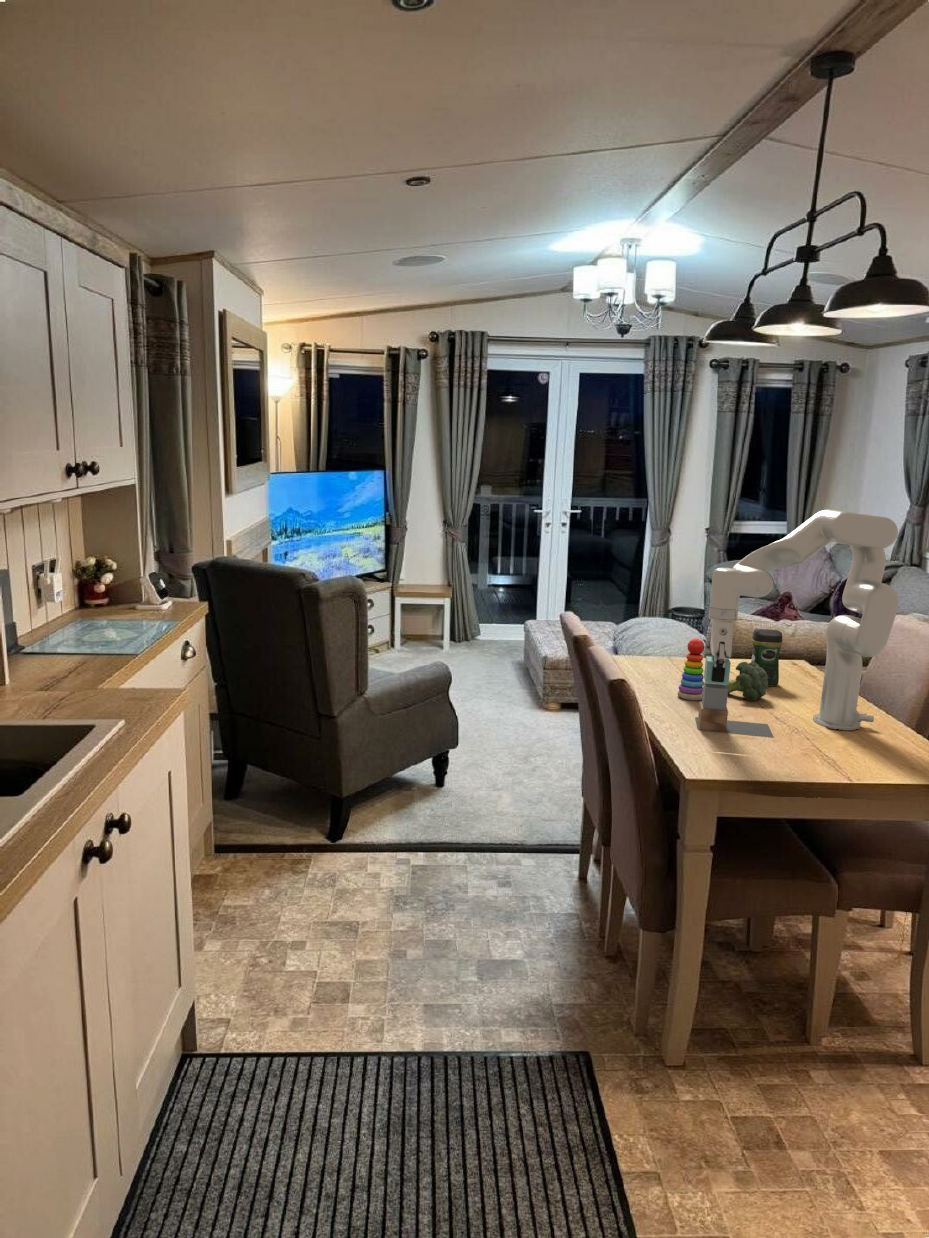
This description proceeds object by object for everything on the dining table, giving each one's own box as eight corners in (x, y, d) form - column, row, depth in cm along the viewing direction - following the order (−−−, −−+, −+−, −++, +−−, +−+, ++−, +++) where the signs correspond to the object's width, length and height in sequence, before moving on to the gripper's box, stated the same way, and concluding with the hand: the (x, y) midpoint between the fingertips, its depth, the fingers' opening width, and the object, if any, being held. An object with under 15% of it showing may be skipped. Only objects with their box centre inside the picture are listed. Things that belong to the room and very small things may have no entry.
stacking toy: (704, 702, 263) (710, 642, 260) (677, 699, 265) (683, 640, 261) (702, 695, 271) (708, 637, 267) (676, 693, 272) (682, 635, 269)
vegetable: (729, 680, 281) (773, 668, 273) (732, 715, 274) (778, 703, 266) (712, 663, 274) (757, 650, 266) (715, 698, 267) (761, 685, 258)
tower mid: (723, 704, 239) (726, 683, 238) (726, 710, 233) (728, 689, 232) (701, 702, 240) (703, 681, 239) (703, 708, 235) (705, 687, 233)
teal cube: (726, 679, 238) (728, 658, 237) (728, 684, 232) (730, 663, 231) (703, 677, 239) (706, 656, 238) (705, 682, 233) (707, 661, 232)
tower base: (723, 724, 241) (725, 704, 240) (725, 732, 234) (728, 711, 233) (697, 722, 242) (699, 701, 241) (699, 729, 235) (701, 708, 234)
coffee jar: (773, 681, 292) (780, 627, 288) (780, 687, 284) (786, 632, 280) (744, 679, 292) (750, 626, 289) (750, 685, 285) (756, 631, 281)
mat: (767, 725, 243) (767, 724, 243) (773, 739, 231) (774, 737, 231) (694, 718, 247) (694, 717, 246) (697, 731, 235) (697, 730, 235)
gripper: (741, 621, 223) (733, 688, 226) (734, 609, 239) (727, 672, 243) (711, 618, 224) (704, 685, 228) (706, 607, 241) (700, 669, 244)
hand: (716, 677), depth 235 cm, fingers closed on teal cube, 6 cm apart
